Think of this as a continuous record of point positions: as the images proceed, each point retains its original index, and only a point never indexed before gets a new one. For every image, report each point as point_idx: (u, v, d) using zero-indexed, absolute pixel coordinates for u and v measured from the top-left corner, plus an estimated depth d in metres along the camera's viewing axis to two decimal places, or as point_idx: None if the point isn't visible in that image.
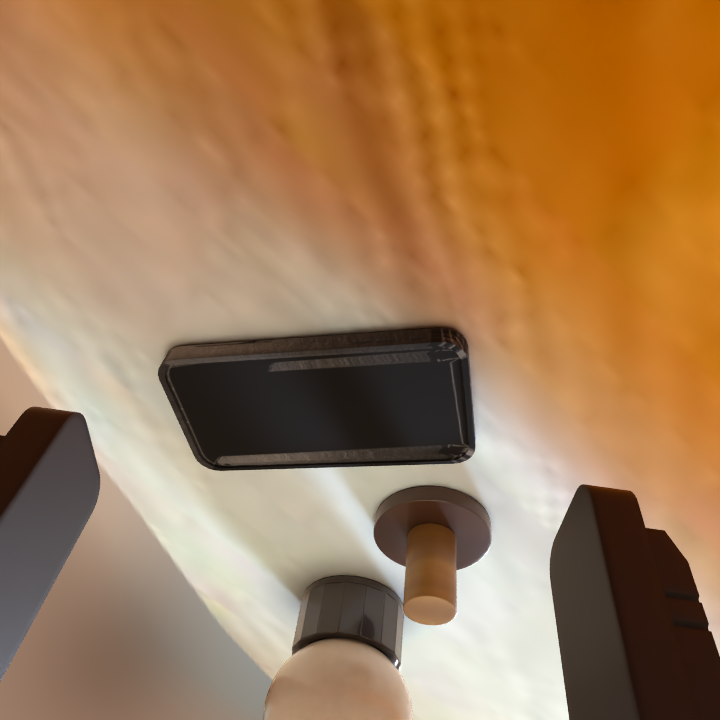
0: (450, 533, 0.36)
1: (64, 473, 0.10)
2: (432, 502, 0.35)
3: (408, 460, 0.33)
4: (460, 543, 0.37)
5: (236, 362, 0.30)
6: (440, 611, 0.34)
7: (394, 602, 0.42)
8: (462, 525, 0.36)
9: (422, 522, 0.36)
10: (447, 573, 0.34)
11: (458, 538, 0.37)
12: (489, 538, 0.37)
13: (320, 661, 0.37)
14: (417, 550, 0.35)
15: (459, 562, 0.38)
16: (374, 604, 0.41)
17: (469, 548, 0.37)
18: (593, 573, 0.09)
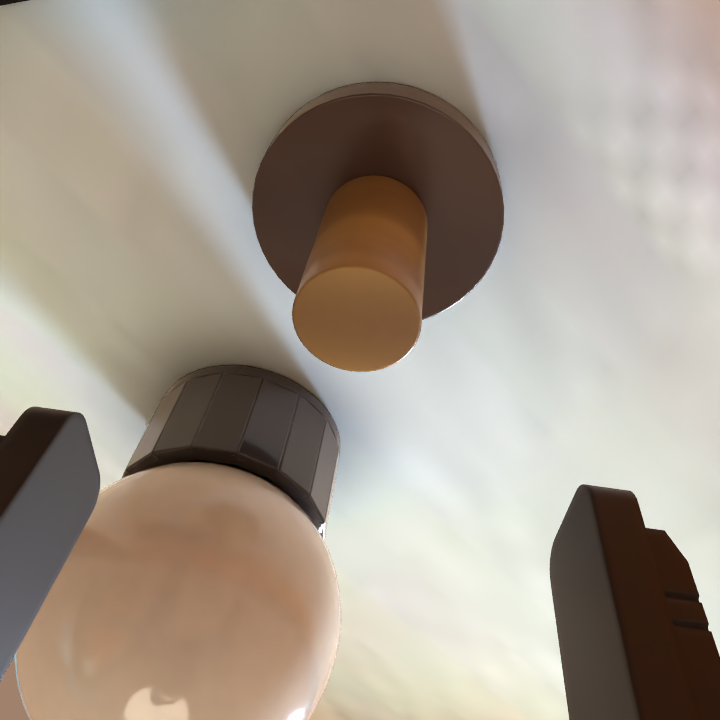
0: (413, 196, 0.16)
1: (64, 473, 0.10)
2: (370, 102, 0.15)
3: None
4: (437, 235, 0.17)
5: None
6: (382, 322, 0.14)
7: (318, 415, 0.22)
8: (439, 174, 0.16)
9: (351, 173, 0.16)
10: (399, 240, 0.14)
11: (432, 220, 0.17)
12: (499, 214, 0.17)
13: (136, 487, 0.17)
14: (336, 212, 0.15)
15: (436, 293, 0.18)
16: (275, 408, 0.21)
17: (457, 250, 0.18)
18: (593, 572, 0.09)
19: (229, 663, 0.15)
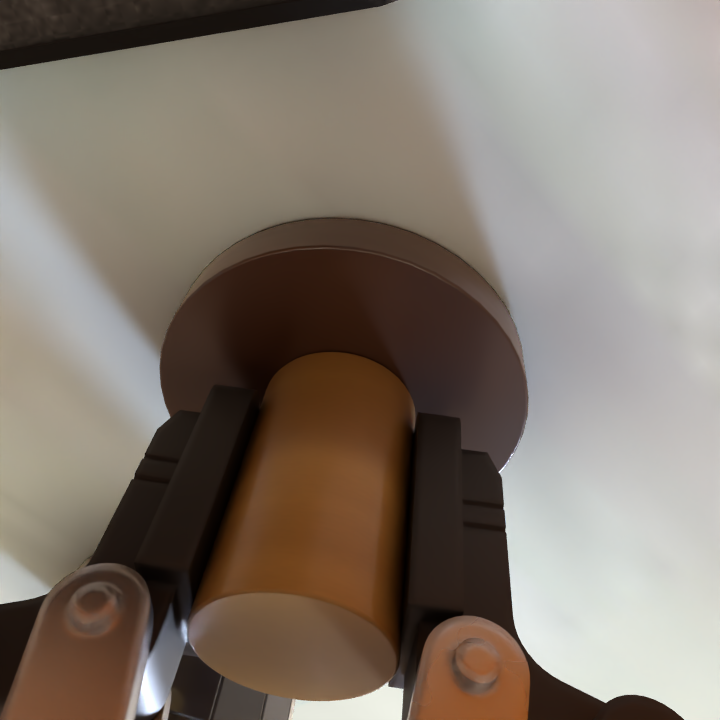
0: (393, 384, 0.11)
1: None
2: (325, 258, 0.10)
3: (192, 14, 0.08)
4: None
5: None
6: (335, 655, 0.08)
7: None
8: (432, 354, 0.11)
9: (301, 348, 0.11)
10: (367, 500, 0.09)
11: (422, 408, 0.12)
12: (522, 405, 0.11)
13: None
14: (271, 428, 0.10)
15: None
16: None
17: None
18: (411, 486, 0.10)
19: None
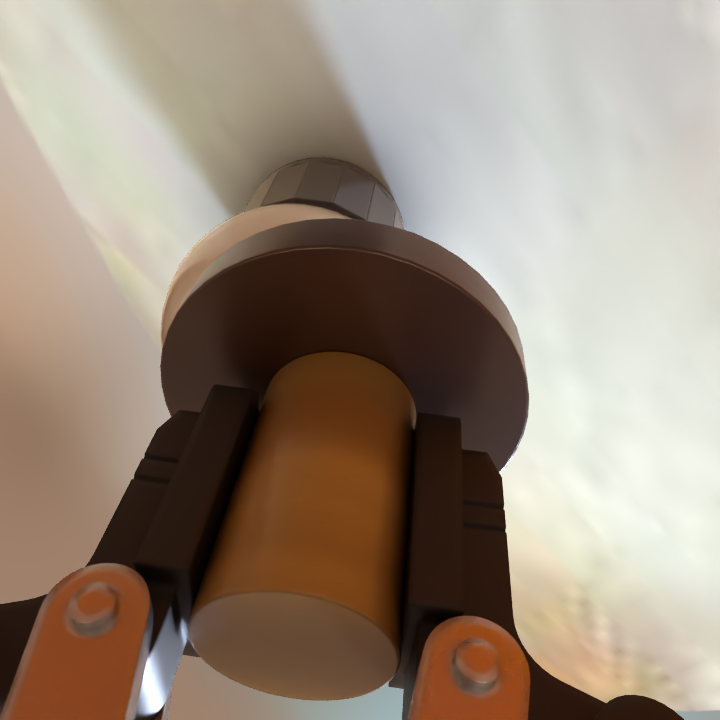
0: (394, 384, 0.11)
1: (246, 445, 0.11)
2: (326, 257, 0.10)
3: None
4: None
5: None
6: (336, 654, 0.08)
7: (390, 202, 0.26)
8: (433, 353, 0.11)
9: (302, 348, 0.11)
10: (368, 500, 0.09)
11: (423, 408, 0.12)
12: (522, 404, 0.11)
13: (259, 207, 0.21)
14: (271, 428, 0.10)
15: None
16: (357, 185, 0.25)
17: None
18: (411, 486, 0.10)
19: None
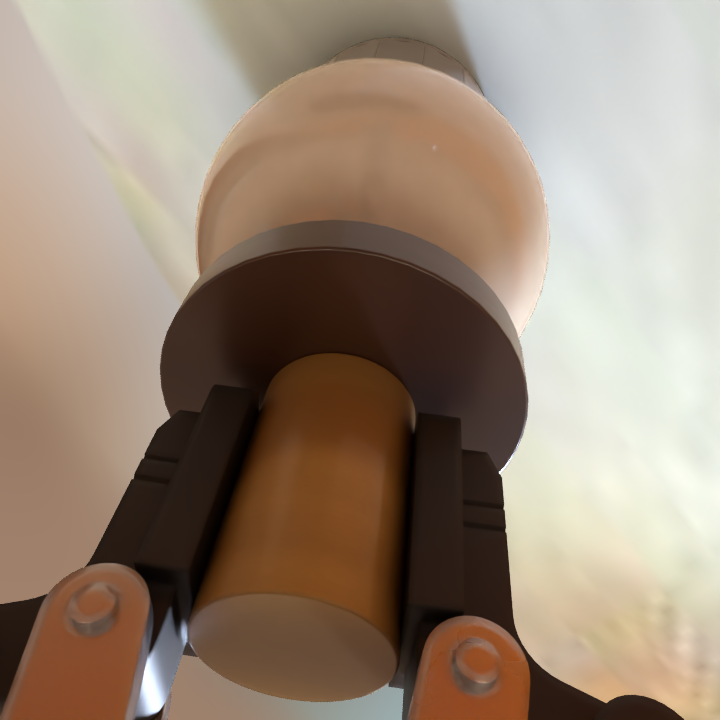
0: (394, 385, 0.11)
1: None
2: (325, 259, 0.10)
3: None
4: None
5: None
6: (335, 655, 0.08)
7: (481, 94, 0.21)
8: (432, 355, 0.11)
9: (301, 349, 0.11)
10: (367, 502, 0.09)
11: (422, 409, 0.12)
12: (522, 406, 0.11)
13: None
14: (271, 429, 0.10)
15: None
16: (444, 64, 0.19)
17: None
18: (412, 486, 0.10)
19: (475, 184, 0.13)
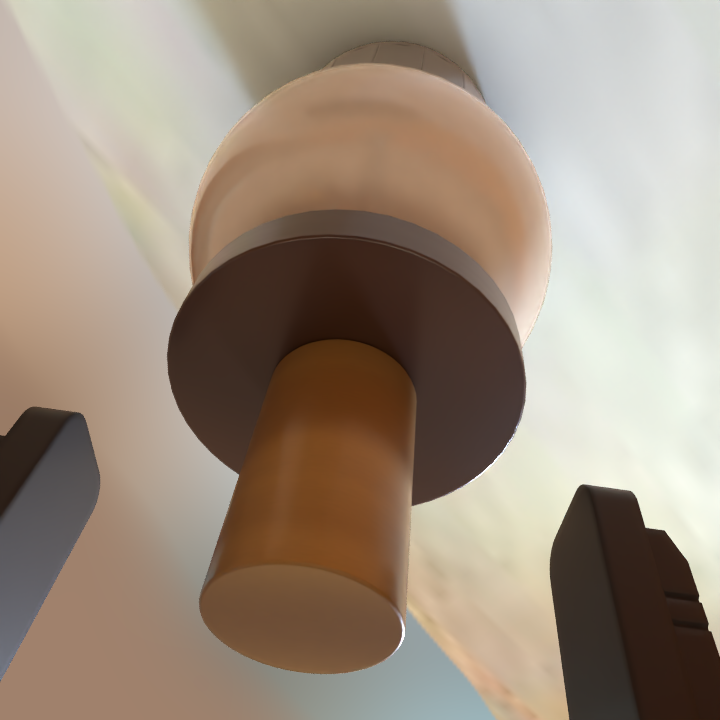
0: (396, 370, 0.11)
1: (64, 473, 0.10)
2: (329, 247, 0.10)
3: None
4: (430, 413, 0.12)
5: None
6: (343, 626, 0.09)
7: (481, 99, 0.20)
8: (432, 340, 0.11)
9: (306, 336, 0.11)
10: (371, 479, 0.09)
11: (423, 394, 0.12)
12: (520, 390, 0.12)
13: None
14: (277, 412, 0.10)
15: (430, 478, 0.13)
16: (444, 68, 0.19)
17: (458, 430, 0.12)
18: (593, 572, 0.09)
19: (475, 194, 0.12)
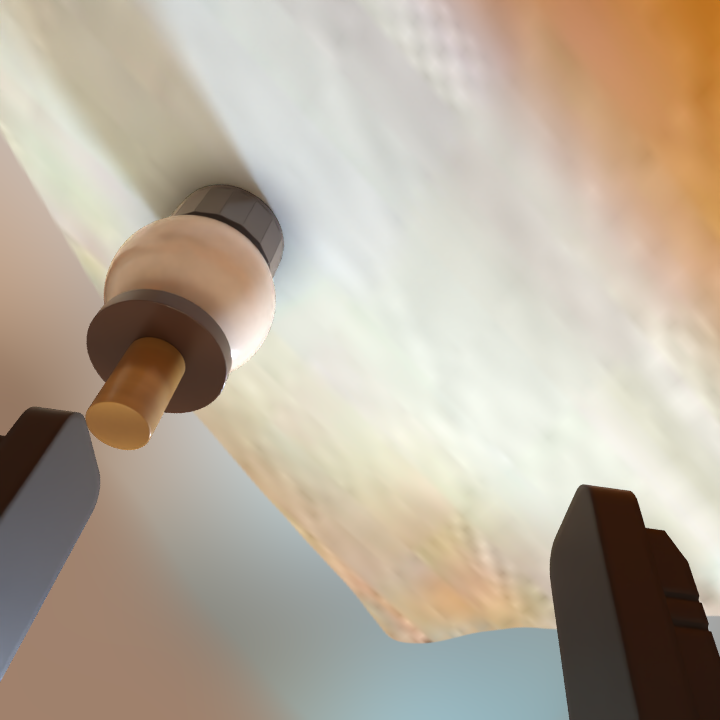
0: (170, 348, 0.30)
1: (64, 473, 0.10)
2: (138, 303, 0.29)
3: None
4: (191, 366, 0.31)
5: None
6: (130, 426, 0.27)
7: (268, 213, 0.39)
8: (183, 337, 0.30)
9: (137, 336, 0.30)
10: (144, 382, 0.28)
11: (186, 358, 0.30)
12: (221, 356, 0.30)
13: None
14: (120, 362, 0.29)
15: (200, 396, 0.32)
16: (241, 202, 0.37)
17: (204, 373, 0.31)
18: (593, 573, 0.09)
19: (211, 278, 0.31)
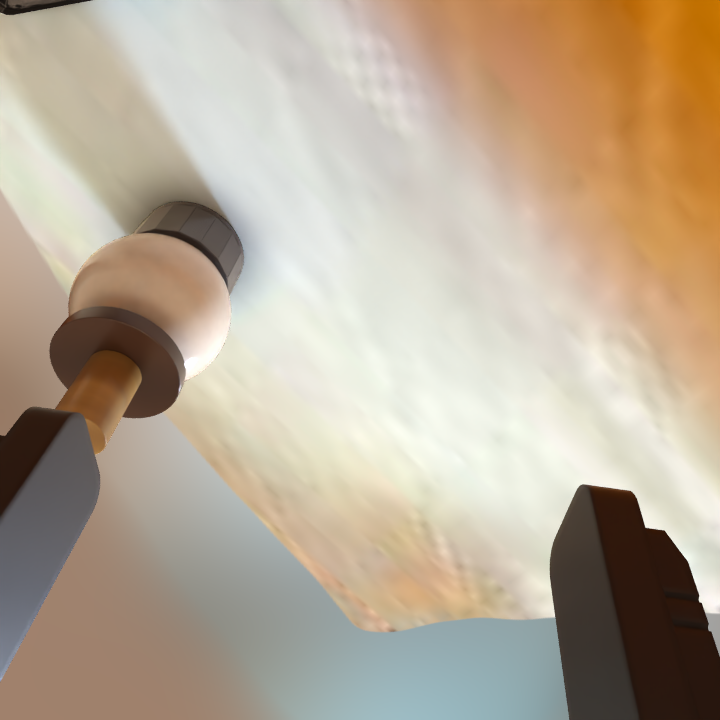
0: (127, 361, 0.32)
1: (64, 473, 0.10)
2: (95, 320, 0.31)
3: None
4: (147, 376, 0.33)
5: None
6: None
7: (227, 229, 0.41)
8: (139, 350, 0.32)
9: (96, 349, 0.32)
10: (100, 394, 0.30)
11: (142, 369, 0.33)
12: (174, 368, 0.33)
13: (126, 236, 0.36)
14: (79, 375, 0.31)
15: (157, 403, 0.34)
16: (201, 219, 0.40)
17: (159, 383, 0.33)
18: (592, 573, 0.09)
19: (166, 295, 0.33)
